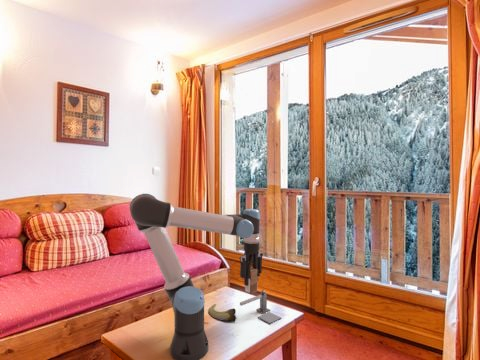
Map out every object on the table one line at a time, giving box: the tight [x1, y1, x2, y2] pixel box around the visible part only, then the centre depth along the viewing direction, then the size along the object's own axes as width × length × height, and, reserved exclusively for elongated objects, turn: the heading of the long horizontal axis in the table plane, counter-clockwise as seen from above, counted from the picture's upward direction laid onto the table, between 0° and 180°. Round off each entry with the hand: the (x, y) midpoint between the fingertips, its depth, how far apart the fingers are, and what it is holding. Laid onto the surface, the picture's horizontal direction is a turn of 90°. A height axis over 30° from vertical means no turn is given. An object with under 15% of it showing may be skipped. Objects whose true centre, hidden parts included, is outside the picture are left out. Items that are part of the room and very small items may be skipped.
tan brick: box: [239, 266, 258, 295], centre depth 143 cm, size 8×4×11 cm, turn 43°
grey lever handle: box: [239, 289, 271, 315], centre depth 148 cm, size 18×5×10 cm, turn 132°
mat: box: [257, 311, 282, 325], centre depth 144 cm, size 8×8×1 cm
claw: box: [208, 303, 237, 322], centre depth 148 cm, size 20×10×3 cm, turn 50°
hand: (251, 290), depth 142 cm, fingers closed on tan brick, 4 cm apart
